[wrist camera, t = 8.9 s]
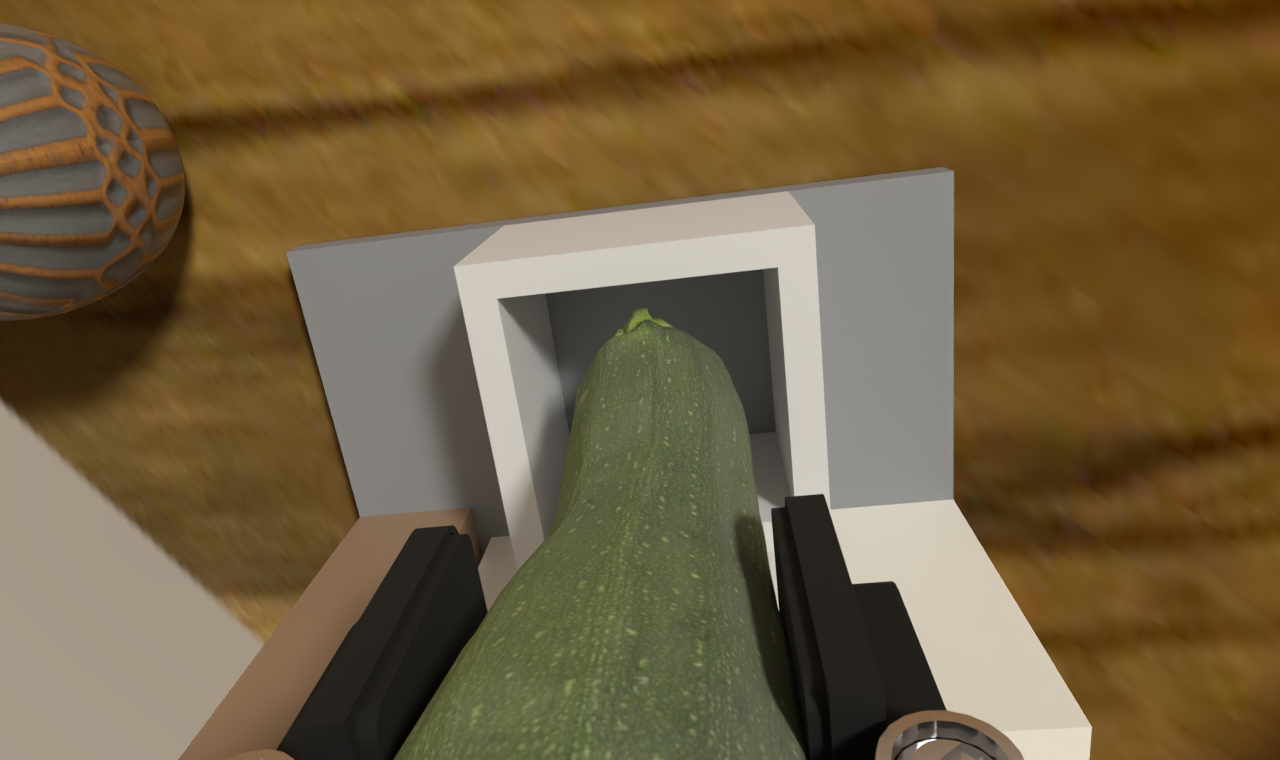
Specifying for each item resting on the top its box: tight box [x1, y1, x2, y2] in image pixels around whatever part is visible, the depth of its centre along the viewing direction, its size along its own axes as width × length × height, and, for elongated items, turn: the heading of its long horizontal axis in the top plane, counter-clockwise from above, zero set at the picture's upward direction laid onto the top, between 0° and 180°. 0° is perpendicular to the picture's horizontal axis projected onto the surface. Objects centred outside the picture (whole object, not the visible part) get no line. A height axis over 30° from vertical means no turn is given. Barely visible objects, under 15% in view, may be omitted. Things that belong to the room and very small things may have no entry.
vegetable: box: [394, 307, 809, 760], centre depth 11 cm, size 4×4×20 cm
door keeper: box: [179, 167, 1092, 760], centre depth 19 cm, size 18×12×13 cm, turn 97°
